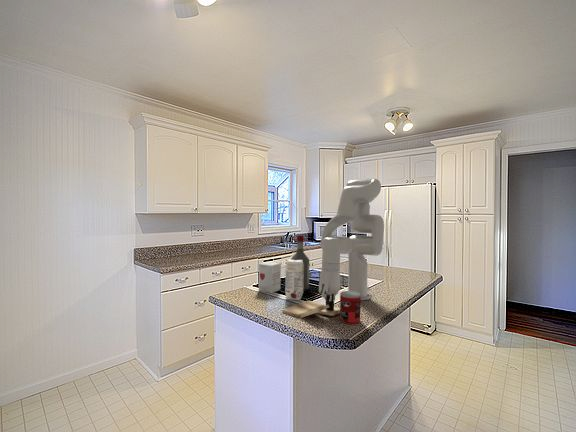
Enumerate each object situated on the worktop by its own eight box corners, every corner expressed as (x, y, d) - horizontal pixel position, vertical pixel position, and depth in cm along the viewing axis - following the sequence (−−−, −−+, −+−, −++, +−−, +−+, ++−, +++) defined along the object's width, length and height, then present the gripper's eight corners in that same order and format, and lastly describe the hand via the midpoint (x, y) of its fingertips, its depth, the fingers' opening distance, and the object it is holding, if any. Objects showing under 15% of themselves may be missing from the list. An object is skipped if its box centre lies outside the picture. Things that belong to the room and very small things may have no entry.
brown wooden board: (308, 302, 138) (308, 300, 138) (324, 307, 132) (324, 304, 132) (282, 312, 125) (282, 309, 125) (299, 318, 119) (299, 315, 119)
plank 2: (325, 307, 131) (325, 305, 131) (343, 311, 125) (343, 308, 125) (314, 312, 125) (314, 309, 125) (332, 316, 119) (332, 312, 119)
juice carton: (301, 300, 141) (302, 262, 141) (284, 299, 143) (284, 261, 142) (303, 296, 148) (304, 259, 148) (287, 295, 150) (287, 258, 150)
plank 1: (313, 312, 124) (312, 310, 125) (329, 307, 119) (328, 304, 119) (300, 318, 118) (299, 314, 119) (317, 312, 113) (316, 309, 113)
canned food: (337, 317, 120) (338, 291, 119) (356, 317, 120) (357, 290, 120) (342, 324, 112) (343, 296, 112) (363, 324, 113) (363, 296, 112)
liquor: (304, 285, 170) (304, 234, 169) (310, 289, 161) (311, 236, 161) (289, 286, 167) (290, 234, 167) (294, 291, 158) (295, 236, 158)
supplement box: (258, 291, 158) (258, 263, 158) (267, 287, 165) (267, 261, 165) (271, 293, 153) (272, 265, 153) (280, 289, 161) (281, 262, 160)
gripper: (333, 263, 131) (332, 304, 131) (313, 267, 120) (311, 311, 120) (347, 266, 126) (346, 308, 126) (328, 269, 115) (326, 316, 115)
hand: (329, 309), depth 123 cm, fingers closed
